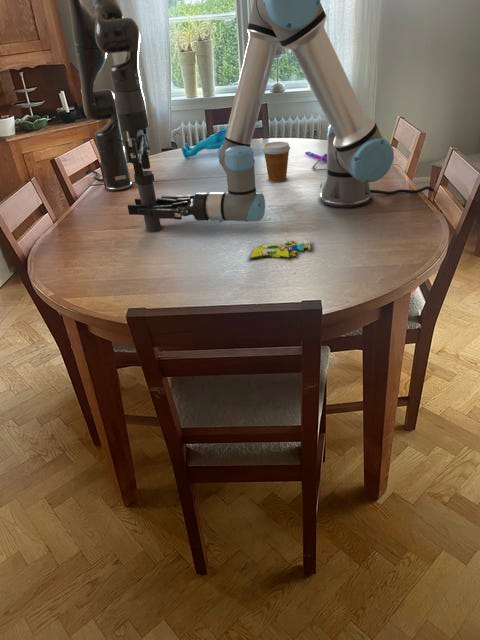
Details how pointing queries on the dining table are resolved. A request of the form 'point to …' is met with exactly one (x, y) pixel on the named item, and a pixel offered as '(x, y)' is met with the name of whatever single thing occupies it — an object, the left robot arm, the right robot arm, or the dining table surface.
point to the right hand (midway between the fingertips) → (132, 206)
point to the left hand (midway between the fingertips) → (143, 172)
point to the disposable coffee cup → (276, 160)
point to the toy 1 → (205, 144)
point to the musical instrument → (318, 158)
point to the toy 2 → (279, 250)
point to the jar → (149, 198)
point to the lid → (145, 178)
